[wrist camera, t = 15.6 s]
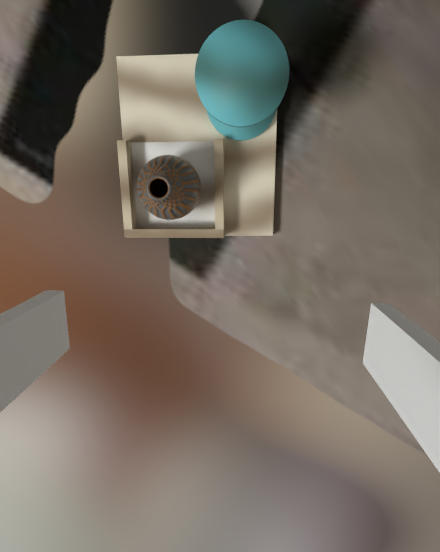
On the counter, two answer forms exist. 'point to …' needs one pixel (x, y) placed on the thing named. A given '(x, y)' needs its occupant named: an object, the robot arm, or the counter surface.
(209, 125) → the jig board
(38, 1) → the counter surface
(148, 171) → the vase
